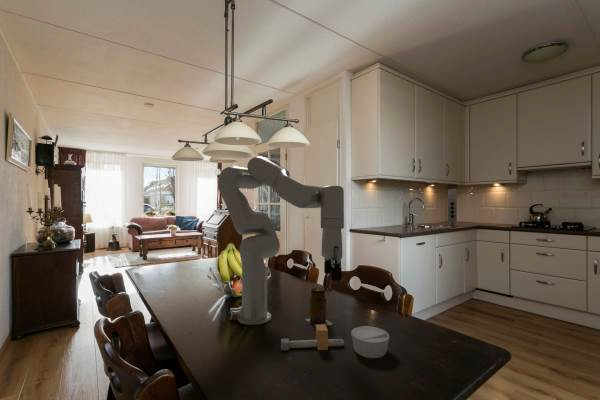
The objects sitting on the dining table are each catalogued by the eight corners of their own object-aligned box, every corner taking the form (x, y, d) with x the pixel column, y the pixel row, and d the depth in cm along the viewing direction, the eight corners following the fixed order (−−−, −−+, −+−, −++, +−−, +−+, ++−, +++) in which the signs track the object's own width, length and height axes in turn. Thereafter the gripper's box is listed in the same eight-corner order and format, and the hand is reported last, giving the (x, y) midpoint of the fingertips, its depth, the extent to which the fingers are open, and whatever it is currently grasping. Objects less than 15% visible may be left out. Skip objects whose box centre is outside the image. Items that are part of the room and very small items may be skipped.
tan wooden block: (318, 350, 90) (318, 330, 90) (315, 342, 95) (315, 324, 95) (327, 349, 91) (327, 330, 91) (325, 342, 95) (325, 324, 95)
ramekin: (383, 365, 82) (383, 345, 82) (345, 354, 88) (345, 336, 88) (393, 348, 92) (393, 331, 92) (359, 339, 98) (359, 323, 98)
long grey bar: (281, 350, 90) (281, 343, 90) (281, 345, 93) (281, 338, 93) (345, 347, 92) (345, 340, 92) (342, 343, 95) (342, 336, 95)
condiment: (321, 316, 117) (321, 285, 117) (333, 324, 110) (333, 291, 110) (304, 319, 114) (304, 288, 114) (315, 328, 107) (315, 294, 107)
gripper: (316, 222, 106) (316, 271, 106) (326, 225, 89) (327, 284, 88) (336, 222, 107) (337, 270, 106) (351, 225, 90) (351, 283, 89)
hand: (332, 276), depth 97 cm, fingers open, 9 cm apart
